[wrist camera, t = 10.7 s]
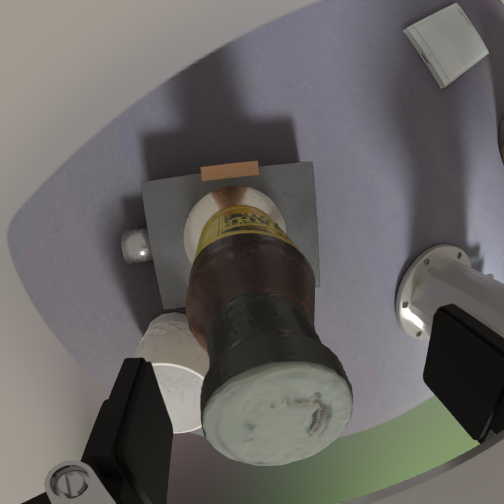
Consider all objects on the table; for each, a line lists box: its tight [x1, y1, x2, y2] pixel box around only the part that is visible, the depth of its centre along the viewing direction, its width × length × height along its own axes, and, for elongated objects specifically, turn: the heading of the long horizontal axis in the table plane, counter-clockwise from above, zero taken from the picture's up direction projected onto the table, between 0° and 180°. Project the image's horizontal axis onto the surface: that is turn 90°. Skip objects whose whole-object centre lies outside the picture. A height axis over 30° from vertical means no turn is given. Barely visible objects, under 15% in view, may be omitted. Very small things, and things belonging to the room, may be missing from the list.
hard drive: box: [403, 3, 489, 89], centre depth 27 cm, size 2×8×12 cm
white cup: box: [133, 312, 209, 433], centre depth 28 cm, size 8×8×10 cm
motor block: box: [121, 161, 320, 310], centre depth 27 cm, size 17×12×7 cm
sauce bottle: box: [185, 205, 353, 466], centre depth 17 cm, size 7×6×20 cm
